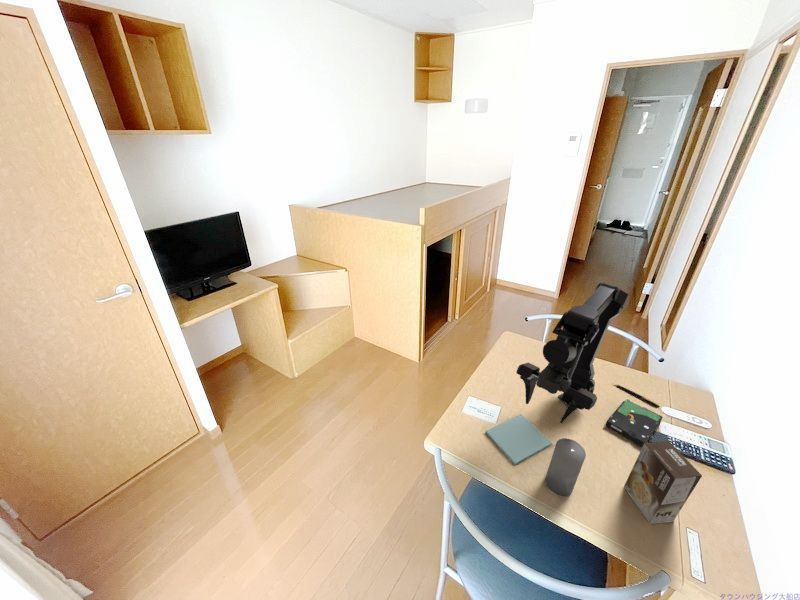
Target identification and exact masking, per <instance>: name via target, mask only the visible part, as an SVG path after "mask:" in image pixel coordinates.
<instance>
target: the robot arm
mask: <svg viewBox="0 0 800 600" xmlns="http://www.w3.org/2000/svg"><path fill="white" fill-rule="evenodd" d="M629 302H630V295H629V294H628V293H626V292H625V291H624V290H623V289H621V287H620V286H618V285H616V284H615V285H614V284H612V283H609V282H608V283H607V282H604V281H603V282H599V283H598V284H597V286H596V287H595V289H594V291H593V293H591V295H590V296H589V297H588V298H587V299H586V300H585V301H584V302H583V304H580V305H575V306H572V307H571V308H570V309H569V310H567V311H565V312H564V313H563V315H562V316H561V317H560V319H559V320H558V322H557V324H555V327H554V329H553V330H552V334H555V335H556V336H557V337H556V339H551V340H549V341H547V342H546V343H545V344H544V345H543V347H542V355H543V357H544V359H545V361H546V362H548V363H547V365H546V367H544V369H542V370H541V368H540V367H539V366H536V365H535V364H532V363H531V362H526V363H525V362H524V363H521V364H519V366H518V367H517V369H516V374H517V375H518V376H519V378H520V379H521V380H522V381H523V383H524V387H525V404H526V405H528V404H529V403H530V401H531V399H532V397H533V394H534V391H535V388H536V386H537V387H538V388H540V389H544V391H545V390H546V391H547V392H548V393H549V394H553V395H554V394H557V392H558V391H559V392H563V393H561V394H559V395H558V396H557V398H558V399H559V400H560V401H562V402H563V403H565V404H566V405H567V407H566V409H565V412H564V413H563V415H562V416H561V418H560V421H559V424H563V423H564V422H565V421H566V420H567V419H568V418H569V417H570V415H572V414H573V413H574V412H575V411H576V410H577V409H579V410H584V409H585V410H588V411H590V410H591V409H592V408H593V407H594V406H595V404H596V403H597V399H598V396H597V394H595V393H594V391H595V386H596V382H595V380H594V377H595V373H596V372H595V369H594V364H593V363H594V361H595V359H596V356H597V354H598V352H599V350H600V347H601V345H602V343H603V341H604V338H605V335H606V333H607V330H608V329H609V326H610V324H611V321H612V320H613V319H615V318H616V317H618V316H620V315H621V314H622V313H623V310H626V308H627V307H628V304H629ZM540 370H541V371H540Z"/></svg>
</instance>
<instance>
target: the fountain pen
mask: <svg viewBox="0 0 800 600" xmlns="http://www.w3.org/2000/svg"><path fill="white" fill-rule="evenodd" d="M612 384H613V385H615V386H616V387H617V388H618V389H620V390H622V391H623V392H626V393H628V394H630V395H632V396H634V397H636V398H638V399H640V400H642V401H643V402H645V403H647V404H650V405H651V406H654V407H657V408H660V405H659V404H658V403H656V402H654V401H653V400H651V399H649V398H647V397H646V396H642V395H641V394H639V393H637V392H634V391H632V390H630V389H628V388H626V387H624V386H622V385H619V384H616V383H614V382H612Z"/></svg>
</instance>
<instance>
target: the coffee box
mask: <svg viewBox="0 0 800 600" xmlns="http://www.w3.org/2000/svg"><path fill="white" fill-rule="evenodd" d="M702 477H703V474H701V473H700V472H699V471H698V470H697V468H696V467H694V466H693V464H691V462H690V461H689V460H688V459H687V458H686V457H685V456H684V455H683V454H682V453H681V452H680V451H679V450H678V448H676V447H675V445H673V444H672V443H671V441H669V440H658V441H652V442H647V443H644V445H643V447H641V449H640V452H639V454H638V455H637V458H636V460H635V463H634V464H633V466H632V468H631V470H630V473H629V474H628V476H627V479H626V481H625V483H624V485H623V488H624V489H625V491H626V492H627V494H628V495H629V496H630V498H631V499H632V501H633V502H634V504H635V505H636V506H637V508H638V509H639V510H640V512H641V514H642V515H643V516H644V517H645V519H646V521H648V524H651V525H654V524H664V523H672V522H675V520H676V518H677V516H678V515H679V513H680V512H681V510H682V508H683V507H684V505H685V504H686V502H687V500H688V499H689V497H690V496H691V494H692V493H693V491H694V489H695V488H696V487H697V485H698V483H699V481H700V480H701V479H702Z"/></svg>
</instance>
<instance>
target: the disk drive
mask: <svg viewBox="0 0 800 600" xmlns="http://www.w3.org/2000/svg"><path fill="white" fill-rule="evenodd" d="M662 419H663V416H662V415H660V414H658V413H656V412H654V411H652V410H650V409H648V408H647V407H644V406H641V405H640V404H637V403H635V402H634V401H631V400H630V399H625V400H624V401H622V403H620V405H618V407H617V409H616V410H615V411H613V413H612V414H611V415H610V416H609V417H608V419H607V420H606V422H605V425H604V426H605V427H607V428H609V429H610V430H612V431H613V432H616V433H617V434H618V435H620V436H622V437H623V438H625V439H627V440H628V441H630V442H632V443H634V444H635V445H637V446H639V447H641V448H642V447H643V445H644V443H648V441H649V439H650V438H651V436H652V435H653V433H654V432H655V431H656V429H657V428H658V427H659V425H660V424H661V421H662ZM654 430H655V431H654ZM651 434H652V435H651ZM649 437H650V438H649Z"/></svg>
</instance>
